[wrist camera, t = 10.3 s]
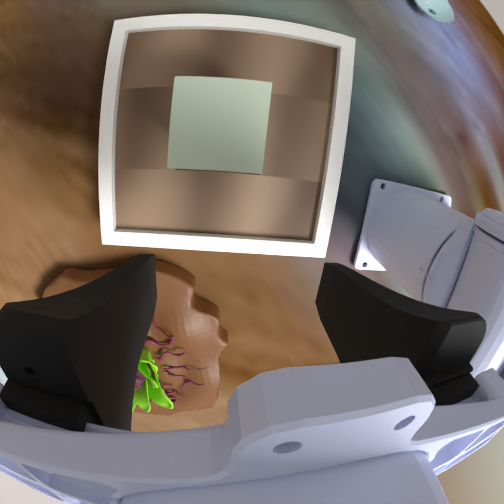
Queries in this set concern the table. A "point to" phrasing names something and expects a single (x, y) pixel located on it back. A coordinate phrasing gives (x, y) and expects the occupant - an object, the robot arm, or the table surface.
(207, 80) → the peg
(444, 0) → the pacifier
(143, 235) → the tray
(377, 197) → the robot arm
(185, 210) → the hole plate
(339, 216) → the table surface
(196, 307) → the plant
